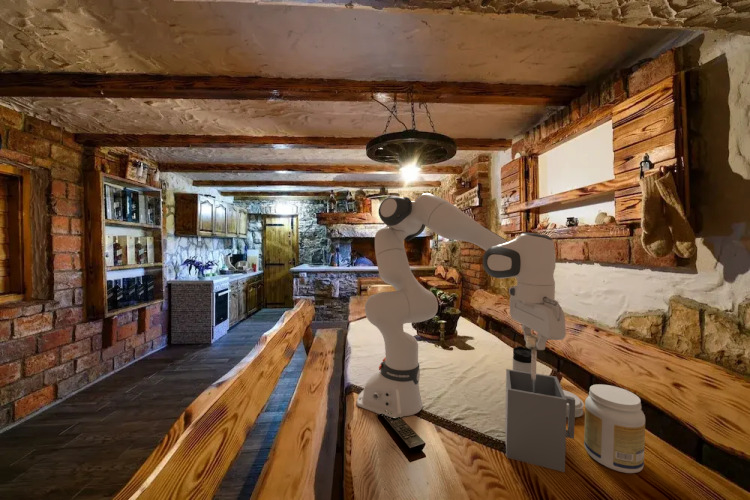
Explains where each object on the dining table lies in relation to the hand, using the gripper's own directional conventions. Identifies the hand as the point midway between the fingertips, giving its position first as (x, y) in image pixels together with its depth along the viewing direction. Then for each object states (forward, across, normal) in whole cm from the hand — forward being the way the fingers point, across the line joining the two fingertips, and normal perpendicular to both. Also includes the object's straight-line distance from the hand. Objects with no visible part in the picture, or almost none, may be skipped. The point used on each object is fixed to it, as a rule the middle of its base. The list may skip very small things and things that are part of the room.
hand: (534, 345), depth 80 cm
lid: (+29, +18, -20) cm, 40 cm away
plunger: (+20, 0, 0) cm, 20 cm away
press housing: (+28, -1, -1) cm, 28 cm away
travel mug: (+28, +19, -7) cm, 35 cm away
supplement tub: (+28, -4, -19) cm, 34 cm away
